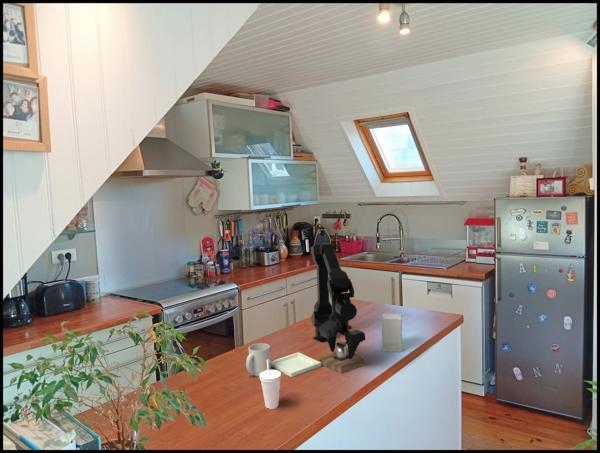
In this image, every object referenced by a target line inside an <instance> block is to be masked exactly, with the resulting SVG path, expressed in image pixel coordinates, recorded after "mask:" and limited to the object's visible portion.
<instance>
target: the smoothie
mask: <svg viewBox="0 0 600 453" xmlns="http://www.w3.org/2000/svg"><path fill="white" fill-rule="evenodd" d="M258 377H259V380H260V383H261V389H262V394H263V395H262V396H263V399H264V406H265V408H266V409H267V408H269V409H268V410H275V409H277V408H278V407H279V401H280V400H279V398H280V388H281V387H280V386H281V379H282V372H280V371H278V370H276V369H271V370H269V360H268V359H267V370H266V371H263V372H261V373H260V375H259V376H258Z"/></svg>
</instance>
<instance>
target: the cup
mask: <svg viewBox="0 0 600 453" xmlns="http://www.w3.org/2000/svg"><path fill="white" fill-rule="evenodd" d="M267 359H268V360H269V370H272V367H271V363H270V361H271V347H270V344H267V343H260V342H258V343H253V344H251V345H249V346H248V355H247V357H246V360H245V361H246V362H245V368H246V371H247V372H248V373H249V374H250V375H251V376H255V377H260V376H259V375H260V373H261V372H263V371H266V370H267Z"/></svg>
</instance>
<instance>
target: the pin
mask: <svg viewBox="0 0 600 453" xmlns="http://www.w3.org/2000/svg"><path fill="white" fill-rule="evenodd" d="M335 349H336V351H337V360H339V361H343V360H346V359H347V358H346V351H347V344H346V343H345V341H344V342H343V341H339V342H338V341H337V342H336V344H335Z"/></svg>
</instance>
